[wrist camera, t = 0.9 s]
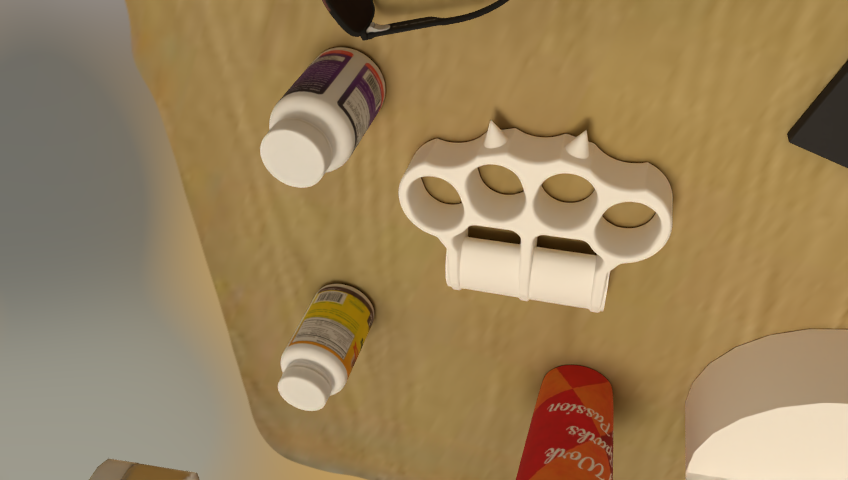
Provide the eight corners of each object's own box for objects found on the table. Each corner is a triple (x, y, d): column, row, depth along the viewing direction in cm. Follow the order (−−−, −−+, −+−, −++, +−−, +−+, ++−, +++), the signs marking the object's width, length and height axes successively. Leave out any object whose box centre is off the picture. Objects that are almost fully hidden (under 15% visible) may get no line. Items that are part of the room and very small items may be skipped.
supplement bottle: (353, 335, 65) (310, 426, 57) (305, 298, 63) (254, 387, 56) (389, 309, 61) (348, 403, 54) (339, 270, 60) (290, 360, 52)
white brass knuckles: (416, 262, 57) (407, 97, 48) (649, 299, 53) (689, 126, 44) (404, 290, 54) (392, 122, 45) (648, 331, 50) (690, 155, 41)
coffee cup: (648, 396, 59) (641, 569, 48) (577, 430, 65) (557, 593, 53) (574, 339, 57) (550, 505, 46) (508, 379, 63) (472, 537, 52)
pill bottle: (302, 93, 50) (238, 168, 42) (327, 29, 46) (261, 100, 39) (370, 131, 50) (318, 212, 43) (400, 71, 47) (348, 149, 39)
